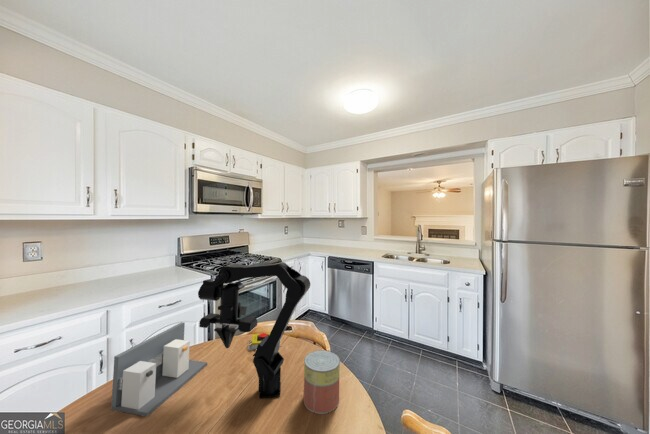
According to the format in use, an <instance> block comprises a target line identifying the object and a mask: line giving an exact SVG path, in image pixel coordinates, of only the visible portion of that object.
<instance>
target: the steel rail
mask: <svg viewBox="0 0 650 434" xmlns="http://www.w3.org/2000/svg"><path fill="white" fill-rule="evenodd" d="M148 362H151V363H156V367H157V366H159V365H160V364H162V363H163V353H161V354H159V355H158V356H156V357H154V358H153V359H151V360H149V361H148ZM122 384H123V377H122V378H120V379H119V389H118V390H122Z"/></svg>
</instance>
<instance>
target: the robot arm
mask: <svg viewBox="0 0 650 434" xmlns="http://www.w3.org/2000/svg"><path fill="white" fill-rule="evenodd" d="M275 276H276V278H278V280H279V281H280V283H281V284H282V285H283V287H284V288H285V289H286V292H285V300H284V304H283V305H282V307H281V310H280V312H279V314H278V316H277V318H276V321H275V323H274V324H273V326H272V328H271V331H270V332H269V333H270V335H269V337H267V336H266V337H265V338H264V339H263V340H262V341H261V342H260V343H259V344H258V346H257V350H255V352H254V353H253V355H252V357H253V359H252V363H253V366H254V367H255V371H256V373H257V377H258V391H257V392H258V393H259V399H267V398H276V397H280V396H281V392H282V391H281V390H282V389H281V388H282V387H281V386H282V383H281V382H282V381H281V378H282V377H281V375H282V373H281V371H282V365H283V364H284V360H285V358H284V357H283V356H282V355H281V354H280V352H279V350H280V348H281V347H280V340H281V339H282V338H283V335H284V333H285V331H286V329H287V327H288V325H289V323H290V320H291V318H292V316H293V315H294V312H295V310H296V308H297V306H298V304H299V303H300V302H301V300H302V299H303V298H304V296H305V295H306V294H307V292H308V291H309V289H310V288H311V281H310V279H309V278H308V277H307V276H306V275H302V274H301V273H300V271H297V270H295V269H293V268H292V267H290V265H288V264H287V263H286V262H283V261H281V262H279V263H267V264H255V265H245V264H241V263H233V264H229V265H226V266H225V265H224V266H221V267H220V269H219V271H218V274H217V276H216V277H215V278H214V280H211V279H204V280H202V285H200V287H199V290H198V291H197V296H198V298H199V300H202V301H204V300H205V301H213V302H215V301H216V302H217V301H219V300H220V304H219V305H218V306H217V311H219V313H213V312H211V313H209V314H208V313H207V314H206V315H205V316H203V317H202V318H200V320H199V328H202V329H203V328H204V329H205V328H206V329H208V327H210V324H214V325H215V328H214V329H213V330H214V331H213V332H216V334H217V335H218V337H220V340H221V342H222V344H223V346H224V347H225V349H229V348H230V346H231V344H232V342H233V338H234V336H235V334H236V332H237V331H239V332H240V333H241V332H242V333H251V332H252V330H254V329H255V328H256V327H257V326H258V319H257V318H256V317H254V316H253V317H252V316H246V314H247V309H248V306H245V305H241V302H240V301H239V291H240V290H242V289H244V288H245V287H246V286H245V285H244V284H243V283H242V282H241V280H243V279H250V278H251V279H252V278H263V277H275ZM236 281H237V282H236ZM242 316H246V317H244V318H243V319H240V318H241V317H242Z"/></svg>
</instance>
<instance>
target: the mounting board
mask: <svg viewBox="0 0 650 434" xmlns="http://www.w3.org/2000/svg"><path fill="white" fill-rule="evenodd" d="M175 339H178V340H185V322H182V321H181V322H180V323H179V322H178V323H177V324H175V325H173V326H172V327H170V328H168V329H165V330H163V331H162V332H160V333H158V334H156V335H154V336H151V337H150V338H148V339H146V340H144V341H142V342H140V343H139V344H136V345H134V346H131V348H128V349H126V350H125V351H122V352H121V353H119V354H118V353H117V354H116V355H115V356H114V357H113V359H114V360H113V373H112V389H111V391H112V392H111V406H110V407H111V408H110V410H111V411H114V412H115V411H116V412H122V413H124V414H125V413H127V414H131V415H136V416H142V417H146V418H147V417H149V416H150V415H151V414H152V413H154V411H156V410H157V409H158V408H159V407H161V405H163V404H164V403H165V402H166V401H167V400H169V399H170V398H171V397H172V396H173V395H174V394H176V392H178V391H179V390H180V389H182V387H184V386H185V385H186V384H187V383H188V382H190V381H191V380H192V379H193V378H194V377H195V376H197V375H198V374H199V373H200V372H201V371H202V370H203V369H205V367H206V366H208V362H207V361H199V360H193V359H189V368H188V370H187V371H185V372H184V373H183V374H182V375H180V376H179V377H178V378H175V377H168V376H162V371H163V363H162V364H160V365H159V366H157V367H156V379H155V397H154V398H153V399H151V400H150V401H149V402H148V403H146V404H145V405H144V406H143V407H141V408H140V409H139V410H138V409H132V408H127V407H122V406H121V401H122V390H118V389H119V379H120V378H122V377H123V371H124V370H125V369H127V368H129V367H131V366H132V365H134V364H136V363H137V362H139V361H144V362H148V361H149V360H151V359H153V358H154V357H156V356H158V355H159V354H161V353H163V351H164V346H165V345H167V344H168V343H170V342H172V341H173V340H175Z"/></svg>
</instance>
